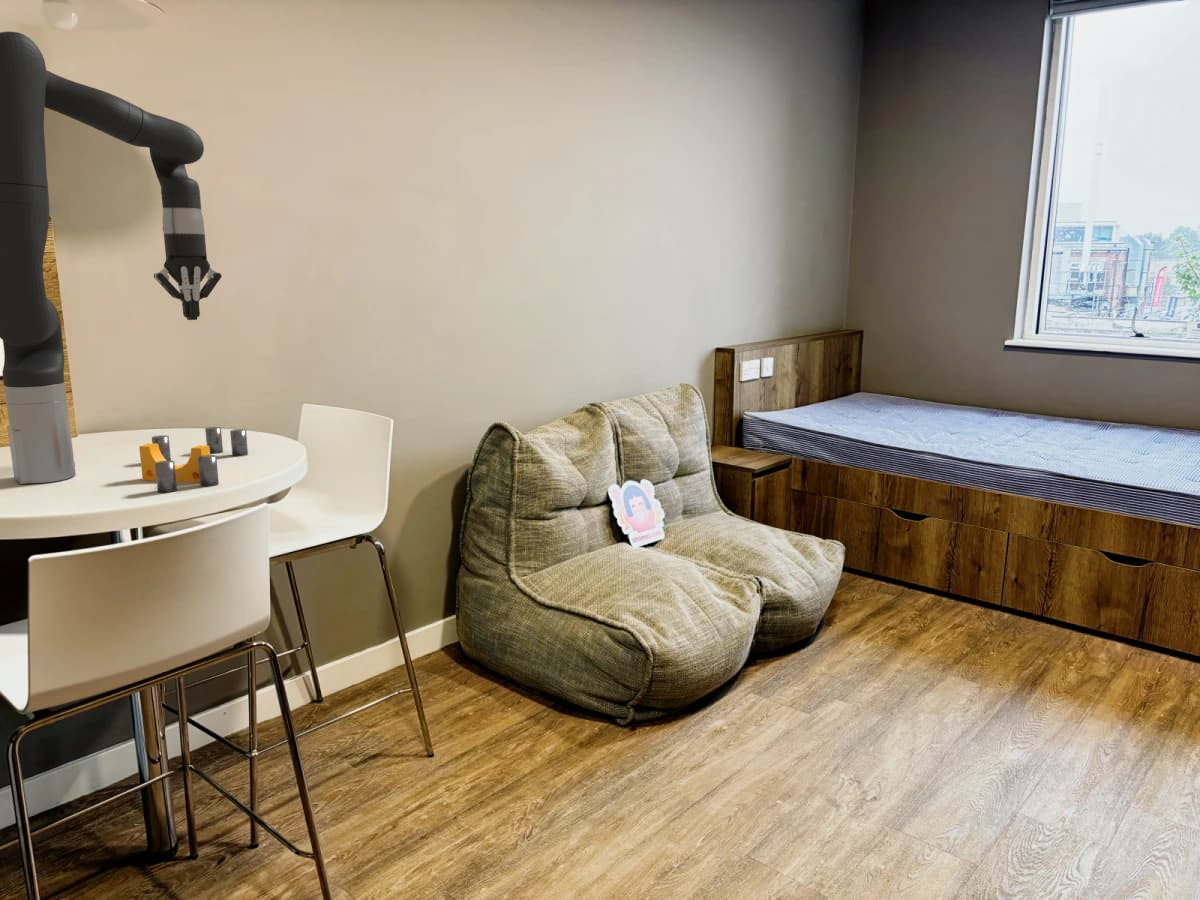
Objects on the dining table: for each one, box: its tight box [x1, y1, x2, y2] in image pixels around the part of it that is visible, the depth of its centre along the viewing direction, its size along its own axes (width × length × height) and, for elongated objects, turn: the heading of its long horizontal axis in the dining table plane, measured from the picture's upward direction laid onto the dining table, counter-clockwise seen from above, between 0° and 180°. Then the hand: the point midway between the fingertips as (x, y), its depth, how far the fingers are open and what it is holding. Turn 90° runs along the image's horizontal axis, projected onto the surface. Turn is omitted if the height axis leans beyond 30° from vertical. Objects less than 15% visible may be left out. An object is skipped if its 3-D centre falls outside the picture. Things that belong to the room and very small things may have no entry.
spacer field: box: [151, 426, 249, 494], centre depth 171 cm, size 23×31×5 cm
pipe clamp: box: [138, 443, 211, 484], centre depth 163 cm, size 12×4×6 cm, turn 81°
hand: (192, 319), depth 183 cm, fingers closed
